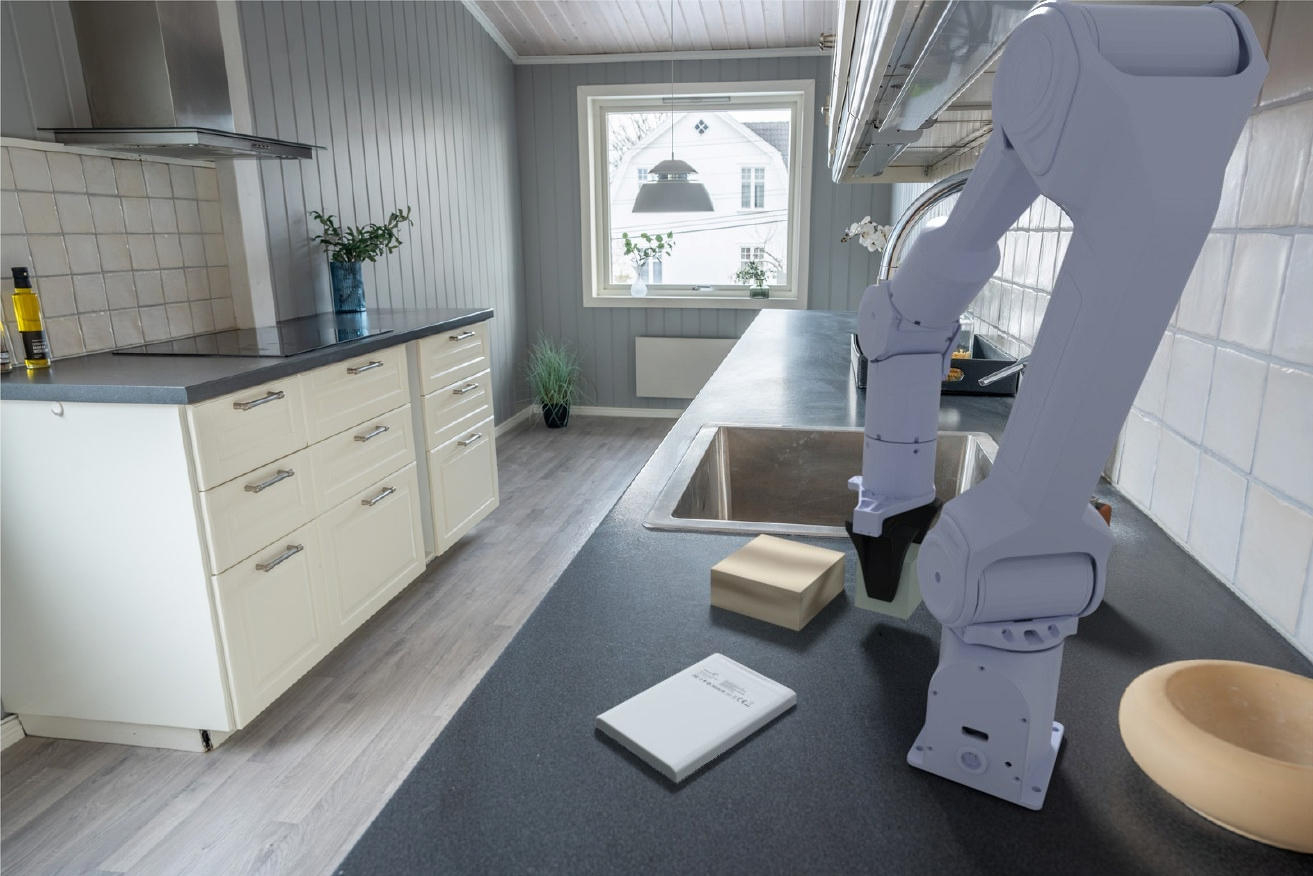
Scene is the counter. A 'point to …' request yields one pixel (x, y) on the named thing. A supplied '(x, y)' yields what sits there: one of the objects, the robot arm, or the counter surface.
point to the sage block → (906, 592)
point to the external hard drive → (696, 714)
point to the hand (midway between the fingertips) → (890, 587)
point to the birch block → (778, 581)
